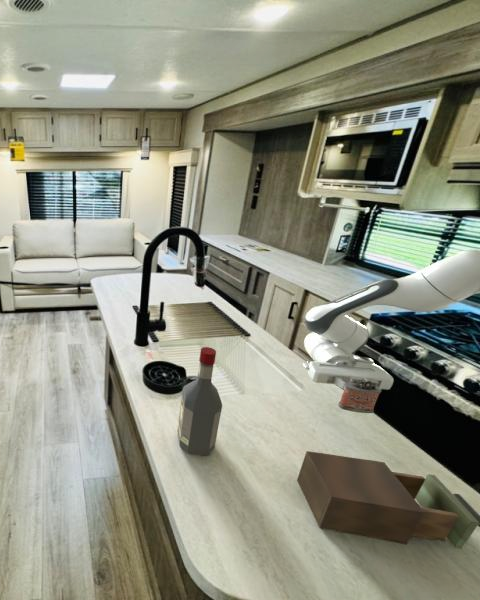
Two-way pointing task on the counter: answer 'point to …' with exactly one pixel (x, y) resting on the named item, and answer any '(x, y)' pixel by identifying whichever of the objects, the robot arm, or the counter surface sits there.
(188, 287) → the counter surface
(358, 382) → the small labelled tin can
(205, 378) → the liquor
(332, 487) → the cabinet
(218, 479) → the counter surface
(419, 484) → the drawer
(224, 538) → the counter surface
